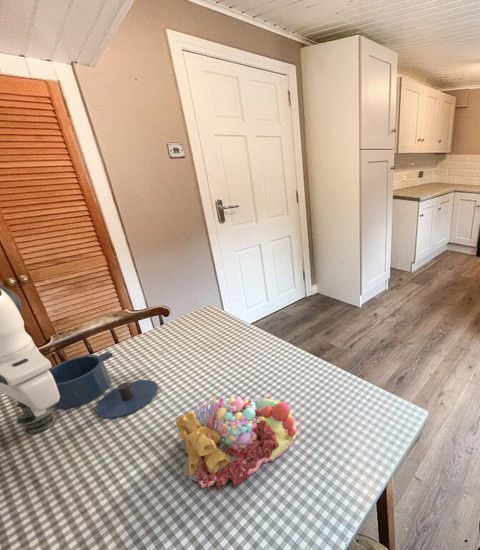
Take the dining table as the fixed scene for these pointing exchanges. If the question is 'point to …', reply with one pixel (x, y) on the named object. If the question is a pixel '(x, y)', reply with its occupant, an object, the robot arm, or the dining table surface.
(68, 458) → the dining table surface
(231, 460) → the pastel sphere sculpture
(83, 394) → the pot
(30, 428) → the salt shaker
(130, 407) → the pot lid
